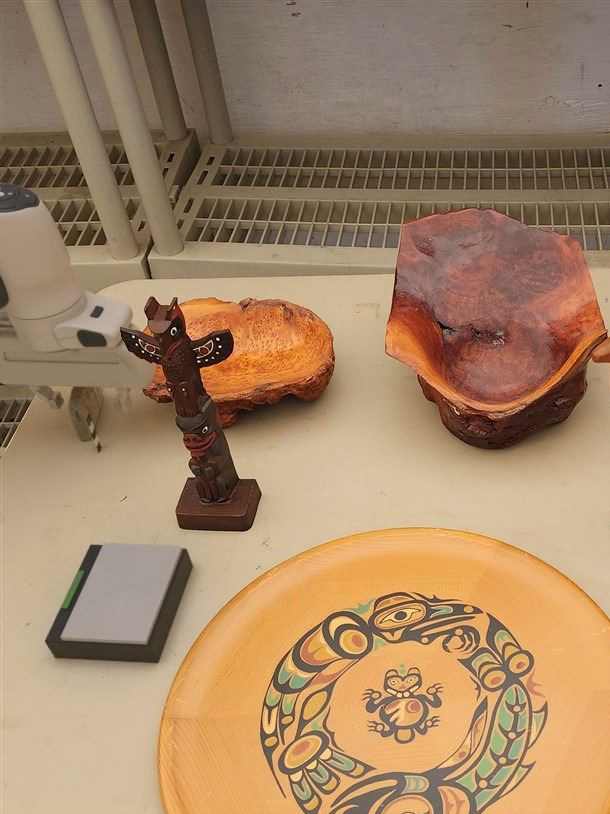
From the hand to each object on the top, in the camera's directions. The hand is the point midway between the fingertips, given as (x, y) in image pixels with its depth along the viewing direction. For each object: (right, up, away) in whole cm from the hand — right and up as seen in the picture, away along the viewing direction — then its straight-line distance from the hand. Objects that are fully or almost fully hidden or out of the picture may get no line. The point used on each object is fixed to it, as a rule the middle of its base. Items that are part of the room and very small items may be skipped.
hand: (90, 407), depth 113 cm
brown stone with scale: (0, -2, +2) cm, 3 cm away
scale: (+12, -24, -19) cm, 33 cm away
